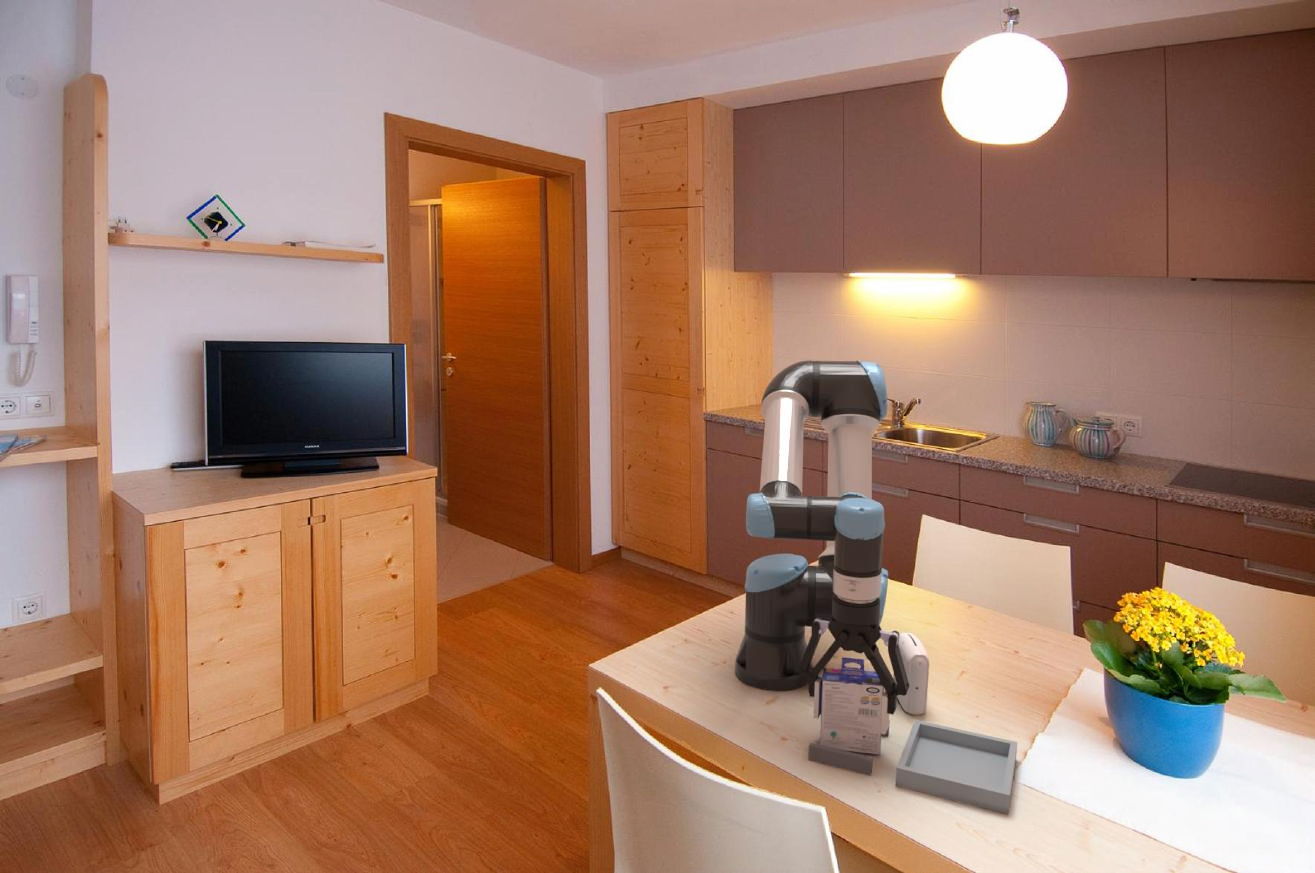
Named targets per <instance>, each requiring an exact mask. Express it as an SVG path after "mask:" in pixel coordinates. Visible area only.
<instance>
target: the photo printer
mask: <svg viewBox="0 0 1315 873" xmlns="http://www.w3.org/2000/svg"><path fill="white" fill-rule="evenodd" d="M898 645H899V649H900V653H901V656H902V660H903V664H904V667H905V671H906V675H907V678H908V682H909V686H910V687H909V689H908V692H907V694H906V695H905V696H902V695H897V701H899V704H900V705H901V707H902V709H903V710H904V712H905V713H908V714H909V715H914V716H915V715H916V716H917V715H923V714H924V713H926V710H927V704H928V702H927V701H928V689H929V674H930V659H929V655H928V652H927V650H926V648H925V647H924V644H923V642H922V641H921V640H920V639H919V638H918V637H917V636H916V635H915V634H913V633H910V632H901V633H899V644H898ZM892 677H893V679H894V680H895V682H896V679H895V675H894V674H893V675H892ZM896 684H897V683H896Z"/></svg>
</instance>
